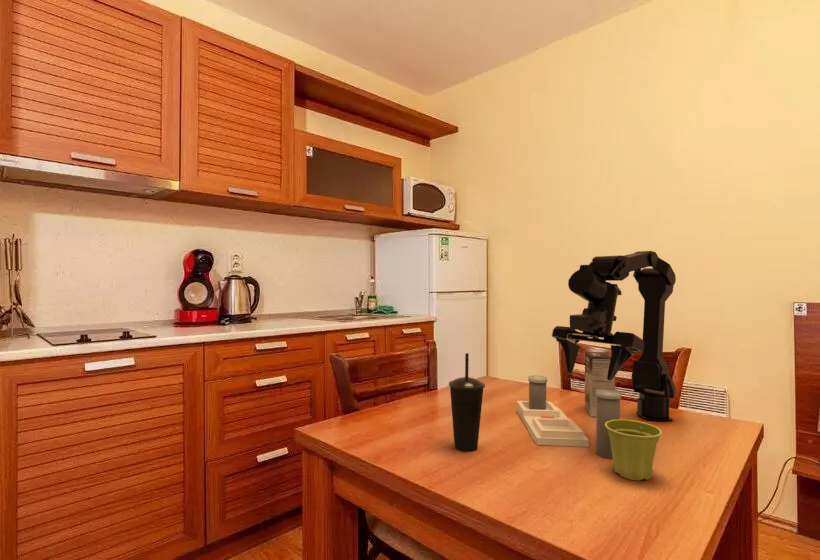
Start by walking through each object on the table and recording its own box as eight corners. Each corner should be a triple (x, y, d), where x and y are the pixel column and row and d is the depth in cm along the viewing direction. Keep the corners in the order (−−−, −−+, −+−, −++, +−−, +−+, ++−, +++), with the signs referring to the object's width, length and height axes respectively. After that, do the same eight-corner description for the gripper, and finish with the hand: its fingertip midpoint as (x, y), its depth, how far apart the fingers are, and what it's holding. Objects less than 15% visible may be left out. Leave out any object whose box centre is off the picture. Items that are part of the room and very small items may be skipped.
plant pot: (660, 491, 74) (661, 439, 74) (600, 477, 79) (601, 429, 79) (662, 471, 82) (662, 425, 82) (608, 459, 87) (608, 416, 87)
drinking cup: (486, 443, 95) (487, 352, 95) (480, 456, 87) (481, 357, 88) (452, 439, 97) (453, 349, 97) (444, 451, 90) (445, 355, 90)
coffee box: (583, 407, 124) (584, 351, 124) (607, 408, 122) (608, 352, 123) (590, 416, 115) (590, 356, 115) (616, 418, 113) (616, 357, 114)
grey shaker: (615, 450, 91) (615, 388, 92) (624, 459, 87) (625, 394, 87) (591, 449, 92) (592, 388, 92) (600, 458, 87) (600, 394, 87)
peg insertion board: (557, 412, 118) (557, 373, 118) (588, 446, 93) (589, 398, 93) (516, 411, 119) (516, 372, 119) (536, 444, 94) (537, 396, 94)
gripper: (545, 295, 101) (531, 361, 97) (626, 298, 86) (613, 376, 83) (570, 310, 107) (558, 372, 104) (650, 314, 92) (638, 387, 89)
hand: (588, 376), depth 95 cm, fingers open, 9 cm apart
